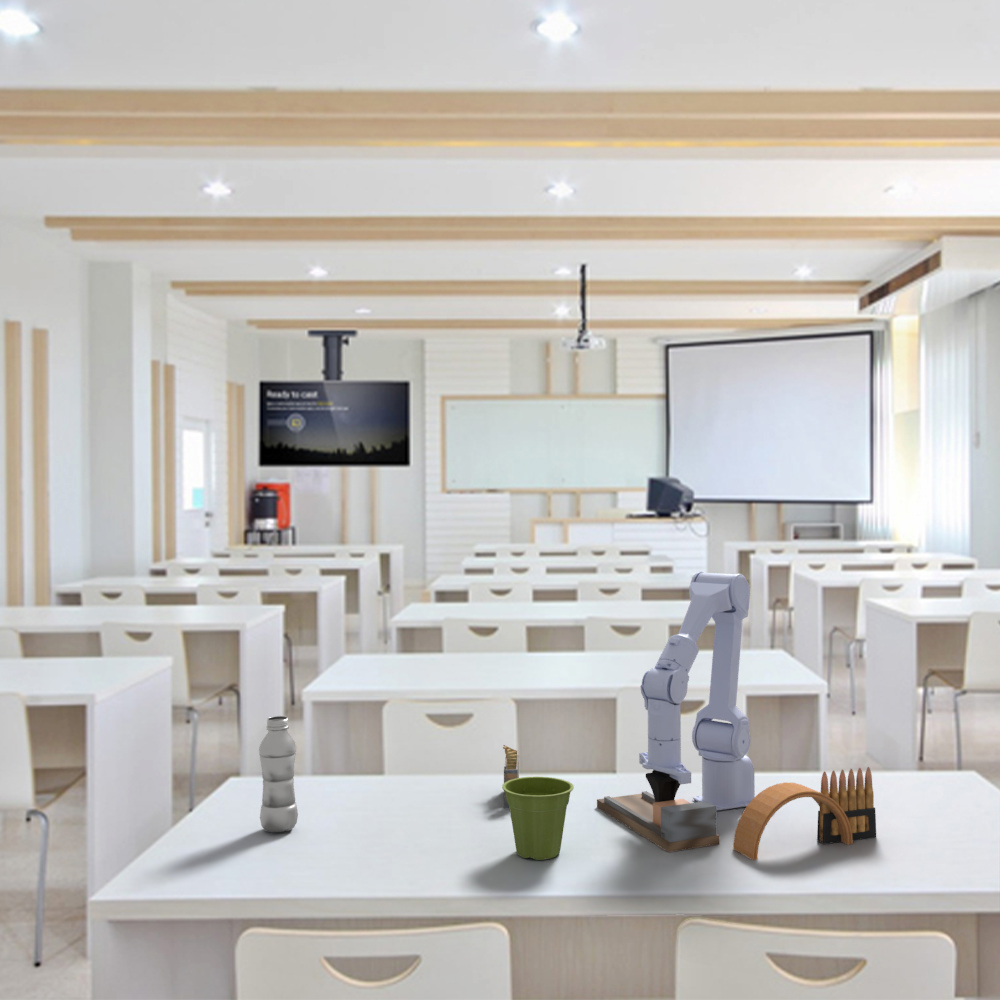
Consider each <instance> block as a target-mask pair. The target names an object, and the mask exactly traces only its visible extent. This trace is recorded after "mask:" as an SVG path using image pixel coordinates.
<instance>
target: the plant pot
mask: <svg viewBox="0 0 1000 1000" xmlns="http://www.w3.org/2000/svg"><path fill="white" fill-rule="evenodd" d="M574 786H575V785H574V784H573V783H572V782H570V781H569V780H565V779H562V778H558V777H557V778H556V777H550V776H522V777H519V778H516V779H512V780H509V781H507V782H505V783H504V782H503V783H502V786H501V788H502V790H503V792H504V791H505V792H506V797H507V802H508V804H509V808H508V809H509V813H510V814H509V815H510V818H511V824H512V825H511V826H512V831H513V839H514V844H515V850H516V853H517V855H518V856H520V857H521V858H524V859H528V858H532V859H534V860H535V861H536V860H538V861H544V860H547V859H548V860H550V859H554V858H555V857H557V856H558V854H560V853H561V847H562V841H563V834H564V828H565V827H564V826H565V821H566V814H567V807H568V805H569V802H570V796H571V792H572V791H573V790H574Z"/></svg>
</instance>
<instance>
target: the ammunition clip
mask: <svg viewBox="0 0 1000 1000" xmlns="http://www.w3.org/2000/svg"><path fill="white" fill-rule="evenodd" d="M855 777H856V778H855ZM837 778H838V779H837ZM820 780H821V781H820V793H822V794H824V795H827V796H829V797H830V798H832V799H833V800H834V801H836V802H837V803H838V804H839V806H840V807H841V808H842V809H843V811H844V812H845V814H846V816H847V818H848V821H849V823H850V826H851V831H852V838H853V841H857V840H859V841H860V840H864V839H865V840H866V839H874V838H877V816H876V815H877V814H876V807H874V805H875V804H874V788H873V775H872V772H871V768H870V766H867V768H866V770H865V775H864V774H863V771H862V768H861V767H858V770H857V772H856V776H855V774H854V771H853V768H850V769H849V771H848V775H847V777H846V773H845V771H844V769H841V770H840V773H839V777H837V773H836V771H835V770H832V772H831V774H830V779H829V780H828V776H827V773H826V771H823V773H822V776H821V779H820ZM816 831H817V833H816V834H817V835H816V836H817V838H816V840H817V841H818V842H819V843H821V844H823V845H826V844H835V843H842V842H841V835H839V826H838V822H837V820H836V817H835V815H834V814H833V813H831V812H830V809H829V807H828V806H827V805H826V804H825V803H823V802H821V801H820V807H819V810H818V811H817V830H816Z"/></svg>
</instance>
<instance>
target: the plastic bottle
mask: <svg viewBox="0 0 1000 1000" xmlns="http://www.w3.org/2000/svg"><path fill="white" fill-rule="evenodd" d="M288 729H290V725H289V717H288V716H286V715H277V716H270V717H267V720H266V731H267V733H266V735H265V736H264V737H263V739H262V741H261V742H260V745H259V748H258V753H259V760H260V766H261V773H262V797H261V799H262V800H261V805H260V807H261V808H260V814H259V820H260V825H261V827H262V828H263V830H264V831H265V832H269V833H282V832H283V833H284V832H287V831H291V830H292V829H294V828H295V827H296V825H297V822H298V818H299V813H298V806H297V802H296V795H295V793H296V792H295V786H294V785H295V784H294V783H295V782H294V781H295V779H294V777H295V763H296V755H297V744H296V742H295V739H294V738H293V736H292V735H291V734H290V733H289V731H288Z"/></svg>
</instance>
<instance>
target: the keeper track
mask: <svg viewBox="0 0 1000 1000" xmlns="http://www.w3.org/2000/svg"><path fill="white" fill-rule="evenodd" d="M653 803H655V798H654V795H653V793H650V792H648V791H647V790H646V791H641V793H635V794H628V795H621V796H614V797H613V796H610V795H608V796H604V797H603V798H598V799H596V807H597V809H599V810H600V809H601V811H602V812H603V813H605V814H607V815H608V816H610V817H612V818H613V819H615V820H616V821H618V822H620V823H621V824H623V825H624V826H626V827H628V828H629V829H631V830H632V831H634V832H635V833H637V834H639V835H640V836H642V837H643V838H645V839H647V840H649V841H650V842H651V843H654V844H655V845H656V846H658V847H659V848H661V849H662V850H664V851H665V852H667V853H672V852H673V853H674V852H678V851H684V850H692V849H697V848H703V847H709V846H716V845H721V844H720V842H721V838H720V834H718V833H717V811H716V805H714V804H712V803H710V802H708V801H702V802H697V801H695V802H690V803H688V804H681V805H673V806H666V807H661V827H660V826H658V825H657V824H655V823H653Z"/></svg>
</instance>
